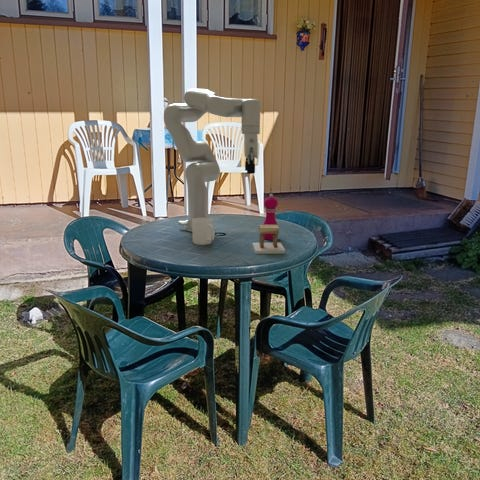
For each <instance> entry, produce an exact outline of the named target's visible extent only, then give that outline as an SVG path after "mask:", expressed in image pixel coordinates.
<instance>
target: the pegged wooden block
mask: <svg viewBox="0 0 480 480" xmlns="http://www.w3.org/2000/svg"><path fill="white" fill-rule="evenodd" d="M258 231H259V243H260V244H259V245H260V248H264V243H265V239H264V234H273V240H272V243H273V246H274V248H277V243H279V241H278V240H279V239H278V238H279V236H278V235H279V233H280V232H279V231H280V227H279V224H278V225H263V224H259V225H258Z"/></svg>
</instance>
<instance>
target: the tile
mask: <svg viewBox="0 0 480 480" xmlns="http://www.w3.org/2000/svg"><path fill="white" fill-rule="evenodd" d="M259 244H260V242H252V248H253V251H254V253H255V255H256V254H258V255H261V254H268V255H270V254H271V255H272V254H286V249H285V248H284V246H283V244H282V242H278V243H277V248H274V246H273V242H264V248H260V245H259Z"/></svg>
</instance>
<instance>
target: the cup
mask: <svg viewBox="0 0 480 480" xmlns="http://www.w3.org/2000/svg"><path fill="white" fill-rule="evenodd" d="M192 230H193V232H192V243H193V244H194V245H197V246H198V245H199V246H206V245H211V244H212V242H213V241H214V239H215V235H216V234H215V228H214V225H213V219H212V218H210V217H208V218H194V219H192Z"/></svg>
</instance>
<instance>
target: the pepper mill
mask: <svg viewBox="0 0 480 480" xmlns="http://www.w3.org/2000/svg"><path fill="white" fill-rule="evenodd" d="M263 205H264V207H265V208H264V209H265V211H264V212H265V220H264V221H263V223H262V225H278V226H279V224H278V222H277V220H276V213H277V207H278V205H279V204H278V199H277V198H275V197H274V194H273V193H270V194H269V195H268V197H267V198H266V199H264V201H263ZM267 239H268V241H271V240H272V241H273V234H264V240H267Z"/></svg>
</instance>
